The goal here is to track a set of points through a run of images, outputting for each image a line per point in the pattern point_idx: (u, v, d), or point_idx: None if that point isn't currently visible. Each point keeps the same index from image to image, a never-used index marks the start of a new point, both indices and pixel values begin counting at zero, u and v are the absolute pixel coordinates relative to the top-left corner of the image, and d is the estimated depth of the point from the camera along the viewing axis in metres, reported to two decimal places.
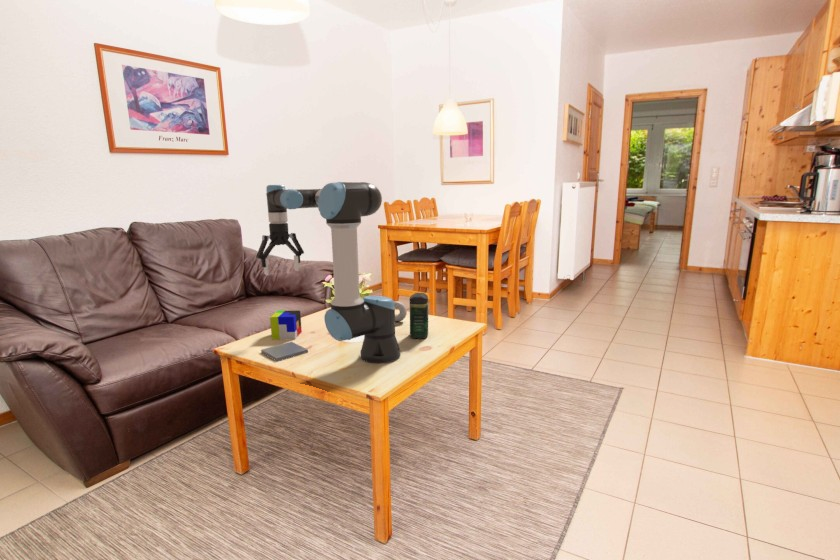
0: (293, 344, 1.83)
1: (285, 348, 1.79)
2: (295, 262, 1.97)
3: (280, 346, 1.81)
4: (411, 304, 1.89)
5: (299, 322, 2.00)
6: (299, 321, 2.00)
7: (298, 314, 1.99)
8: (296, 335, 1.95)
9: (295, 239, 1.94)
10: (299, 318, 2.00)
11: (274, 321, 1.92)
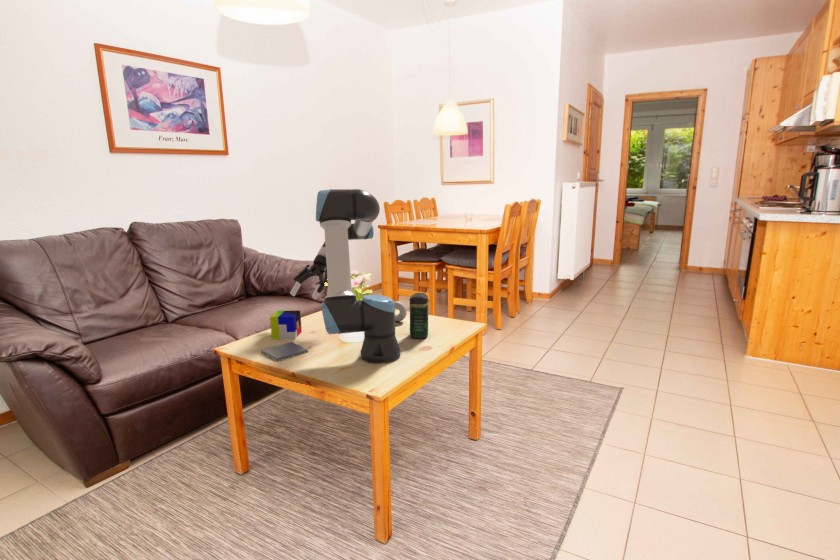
0: (293, 344, 1.83)
1: (285, 348, 1.79)
2: None
3: (280, 346, 1.81)
4: (411, 304, 1.89)
5: (299, 322, 2.00)
6: (299, 321, 2.00)
7: (298, 314, 1.99)
8: (296, 335, 1.95)
9: (325, 271, 2.06)
10: (299, 318, 2.00)
11: (274, 321, 1.92)
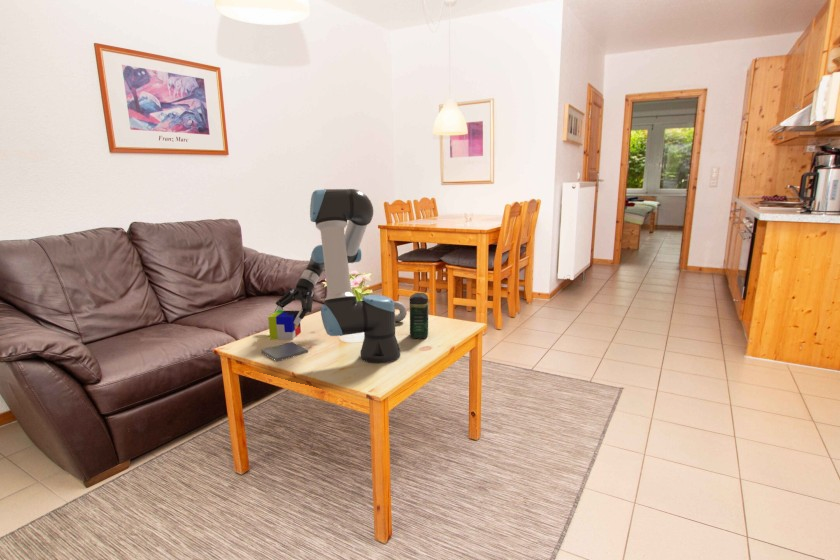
0: (293, 344, 1.83)
1: (285, 348, 1.79)
2: None
3: (280, 346, 1.81)
4: (411, 304, 1.89)
5: None
6: None
7: (297, 314, 1.98)
8: (294, 335, 1.95)
9: (308, 296, 1.99)
10: None
11: (272, 321, 1.92)
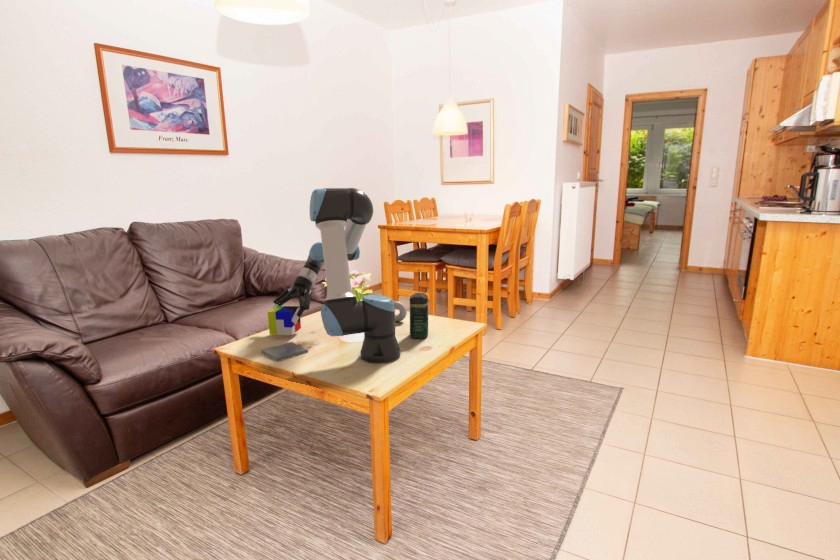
0: (293, 344, 1.83)
1: (285, 348, 1.79)
2: None
3: (280, 346, 1.81)
4: (411, 304, 1.89)
5: None
6: None
7: None
8: (294, 331, 1.94)
9: (306, 293, 1.97)
10: None
11: (272, 316, 1.91)
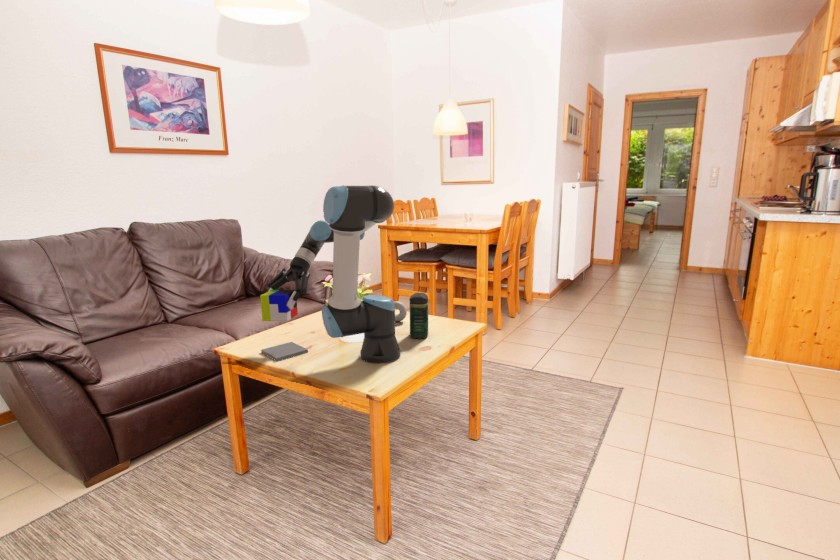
0: (293, 344, 1.83)
1: (285, 348, 1.79)
2: None
3: (280, 346, 1.81)
4: (411, 304, 1.89)
5: None
6: None
7: None
8: (289, 317, 1.74)
9: (303, 276, 1.77)
10: None
11: (265, 301, 1.71)
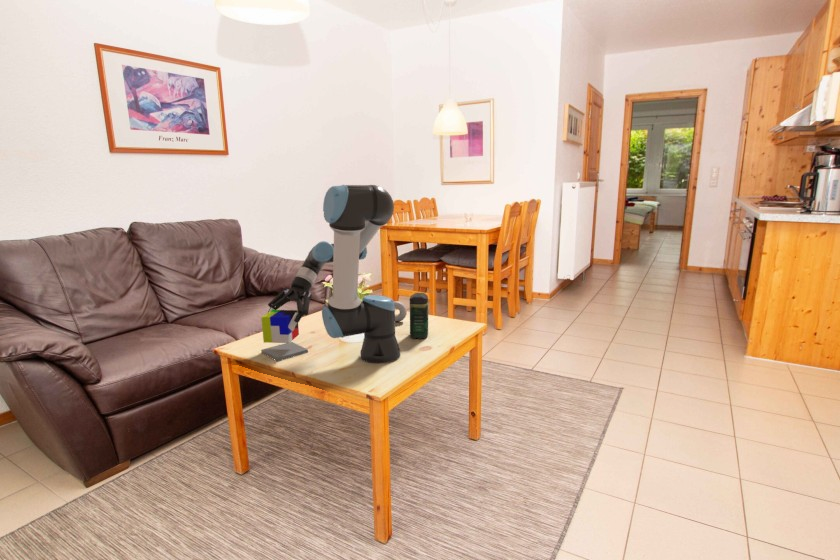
0: (293, 344, 1.83)
1: (285, 348, 1.79)
2: None
3: (280, 346, 1.81)
4: (411, 304, 1.89)
5: None
6: None
7: None
8: (291, 338, 1.73)
9: (305, 296, 1.76)
10: None
11: (266, 322, 1.70)
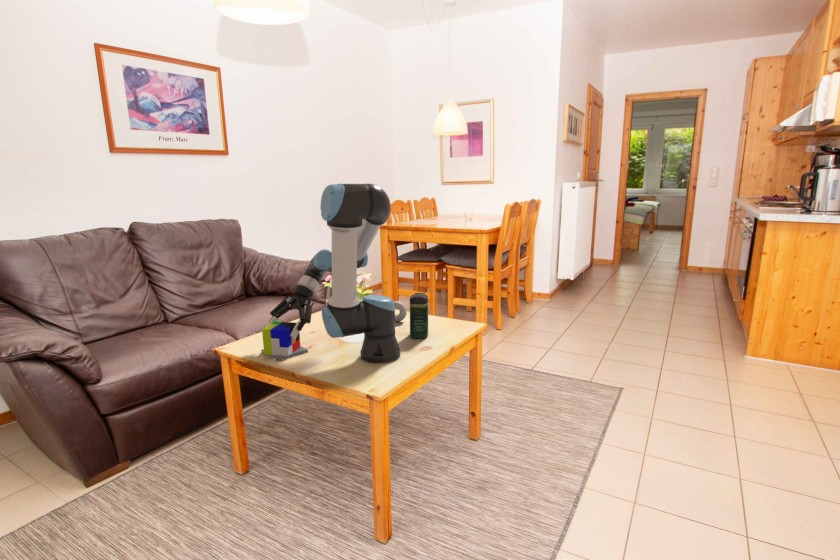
0: None
1: None
2: None
3: None
4: (411, 304, 1.89)
5: None
6: (297, 335, 1.77)
7: None
8: (291, 351, 1.73)
9: (307, 305, 1.77)
10: None
11: (266, 335, 1.71)
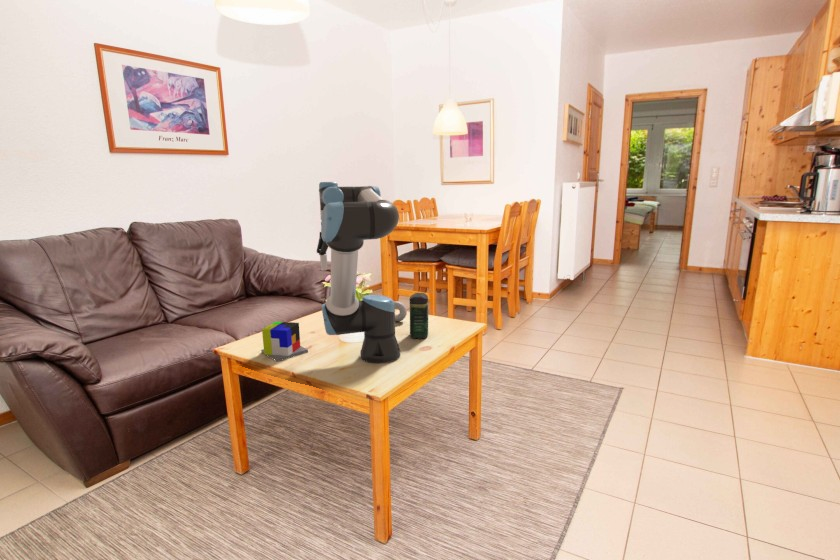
0: None
1: None
2: None
3: None
4: (411, 304, 1.89)
5: (296, 336, 1.77)
6: (297, 335, 1.77)
7: (295, 327, 1.76)
8: (291, 351, 1.73)
9: None
10: (297, 331, 1.77)
11: (267, 335, 1.71)
